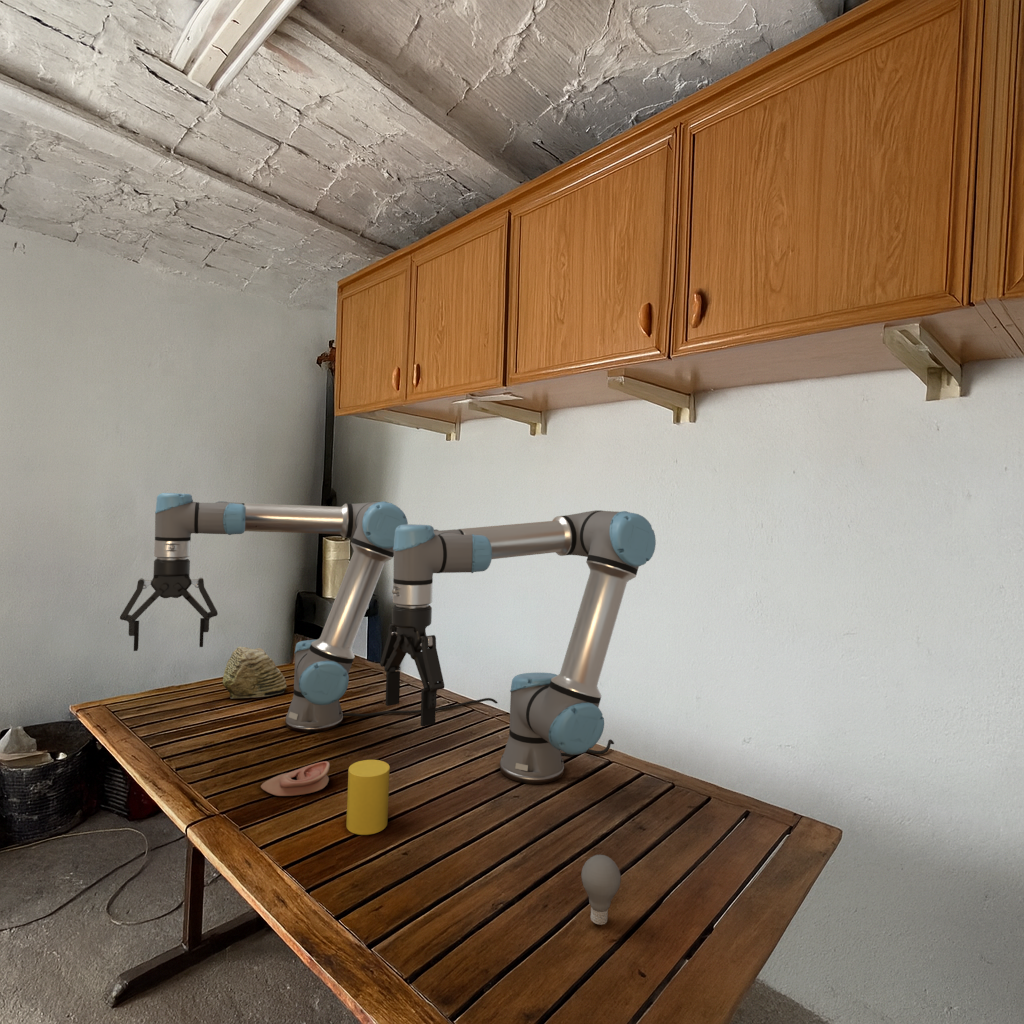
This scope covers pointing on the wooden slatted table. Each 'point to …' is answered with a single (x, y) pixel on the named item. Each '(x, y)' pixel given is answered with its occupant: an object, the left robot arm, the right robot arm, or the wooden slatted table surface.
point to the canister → (367, 797)
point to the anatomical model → (299, 780)
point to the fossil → (252, 674)
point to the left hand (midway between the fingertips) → (169, 647)
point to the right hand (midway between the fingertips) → (409, 714)
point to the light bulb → (600, 885)
